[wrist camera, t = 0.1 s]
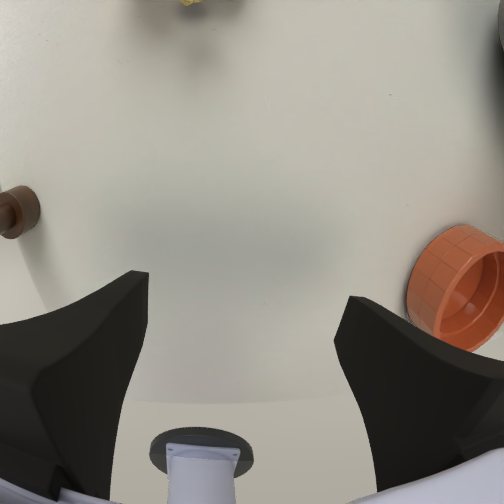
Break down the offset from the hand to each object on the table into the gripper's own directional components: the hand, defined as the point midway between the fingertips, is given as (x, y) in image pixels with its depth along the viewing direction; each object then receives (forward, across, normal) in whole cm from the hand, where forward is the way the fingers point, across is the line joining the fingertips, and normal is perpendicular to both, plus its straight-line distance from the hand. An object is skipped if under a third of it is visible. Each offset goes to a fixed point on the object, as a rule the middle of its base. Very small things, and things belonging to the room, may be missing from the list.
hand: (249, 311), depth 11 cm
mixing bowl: (+8, -17, +1) cm, 19 cm away
